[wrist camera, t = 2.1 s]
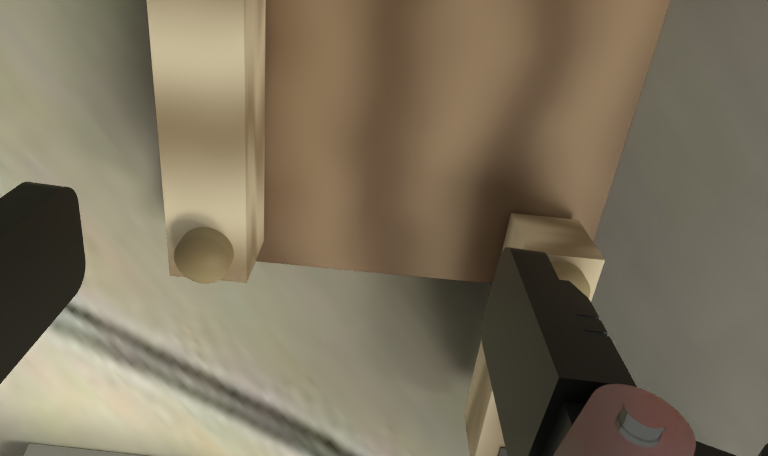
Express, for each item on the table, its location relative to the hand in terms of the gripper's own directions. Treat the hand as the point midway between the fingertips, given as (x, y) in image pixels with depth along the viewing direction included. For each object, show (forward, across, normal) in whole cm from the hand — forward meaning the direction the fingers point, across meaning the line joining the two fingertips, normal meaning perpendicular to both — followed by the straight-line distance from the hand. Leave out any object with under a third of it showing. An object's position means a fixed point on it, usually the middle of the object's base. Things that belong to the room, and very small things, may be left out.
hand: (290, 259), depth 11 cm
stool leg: (+17, +5, +2) cm, 18 cm away
